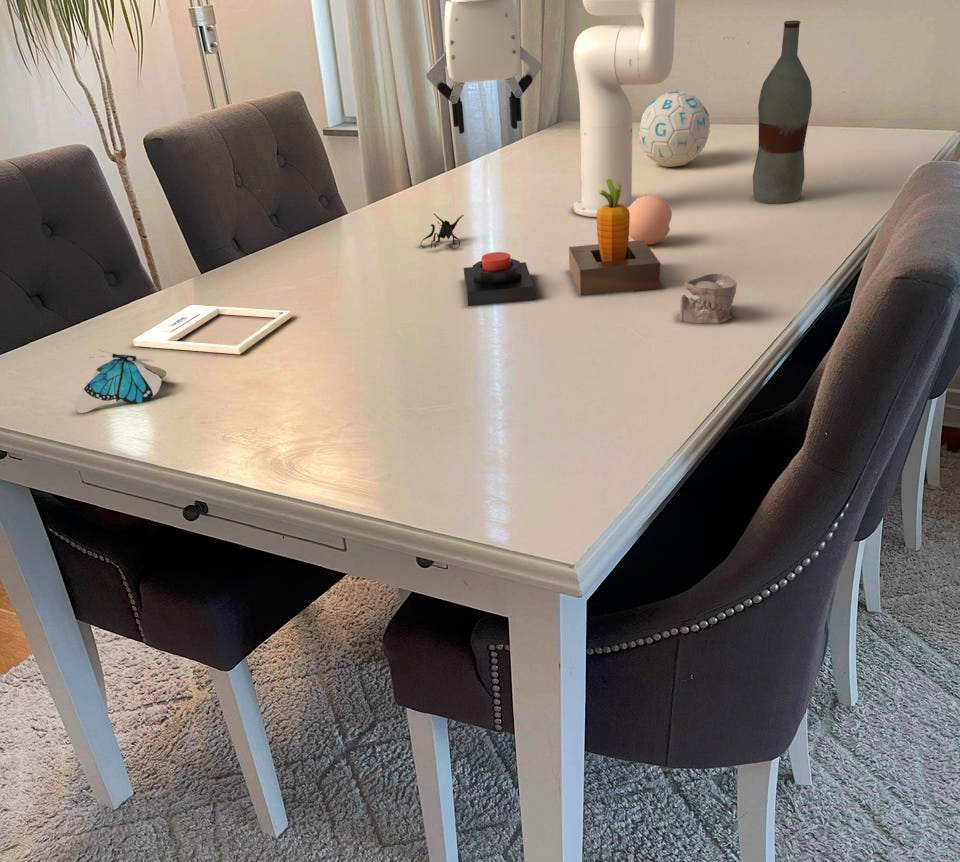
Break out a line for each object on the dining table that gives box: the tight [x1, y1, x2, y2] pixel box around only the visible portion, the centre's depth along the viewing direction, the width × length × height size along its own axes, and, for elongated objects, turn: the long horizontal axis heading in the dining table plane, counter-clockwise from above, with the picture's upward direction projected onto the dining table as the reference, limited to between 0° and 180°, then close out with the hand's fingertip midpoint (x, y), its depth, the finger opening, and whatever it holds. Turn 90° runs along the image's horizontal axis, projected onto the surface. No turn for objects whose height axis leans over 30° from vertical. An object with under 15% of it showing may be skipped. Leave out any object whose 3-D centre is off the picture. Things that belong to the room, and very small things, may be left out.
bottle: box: [752, 19, 813, 205], centre depth 173 cm, size 9×9×30 cm
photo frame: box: [132, 304, 292, 355], centre depth 141 cm, size 15×1×18 cm
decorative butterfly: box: [74, 349, 168, 414], centre depth 124 cm, size 10×6×10 cm
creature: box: [420, 213, 465, 250], centre depth 170 cm, size 8×5×8 cm
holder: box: [568, 240, 661, 297], centre depth 147 cm, size 12×12×4 cm
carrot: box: [596, 179, 630, 262], centre depth 144 cm, size 5×5×15 cm
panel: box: [463, 258, 535, 307], centre depth 147 cm, size 12×10×4 cm
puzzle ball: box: [638, 90, 711, 168], centre depth 205 cm, size 15×15×15 cm
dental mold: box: [679, 273, 738, 325], centre depth 131 cm, size 8×7×5 cm
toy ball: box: [628, 194, 673, 245], centre depth 161 cm, size 8×8×8 cm
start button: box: [481, 251, 512, 271], centre depth 146 cm, size 4×4×2 cm
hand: (487, 128), depth 135 cm, fingers open, 6 cm apart
